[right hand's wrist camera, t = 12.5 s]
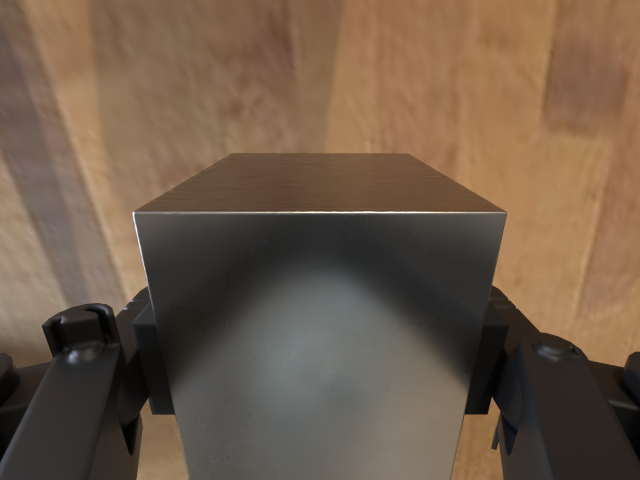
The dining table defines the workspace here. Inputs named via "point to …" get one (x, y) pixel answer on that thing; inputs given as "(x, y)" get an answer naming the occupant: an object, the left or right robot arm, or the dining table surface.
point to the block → (319, 313)
